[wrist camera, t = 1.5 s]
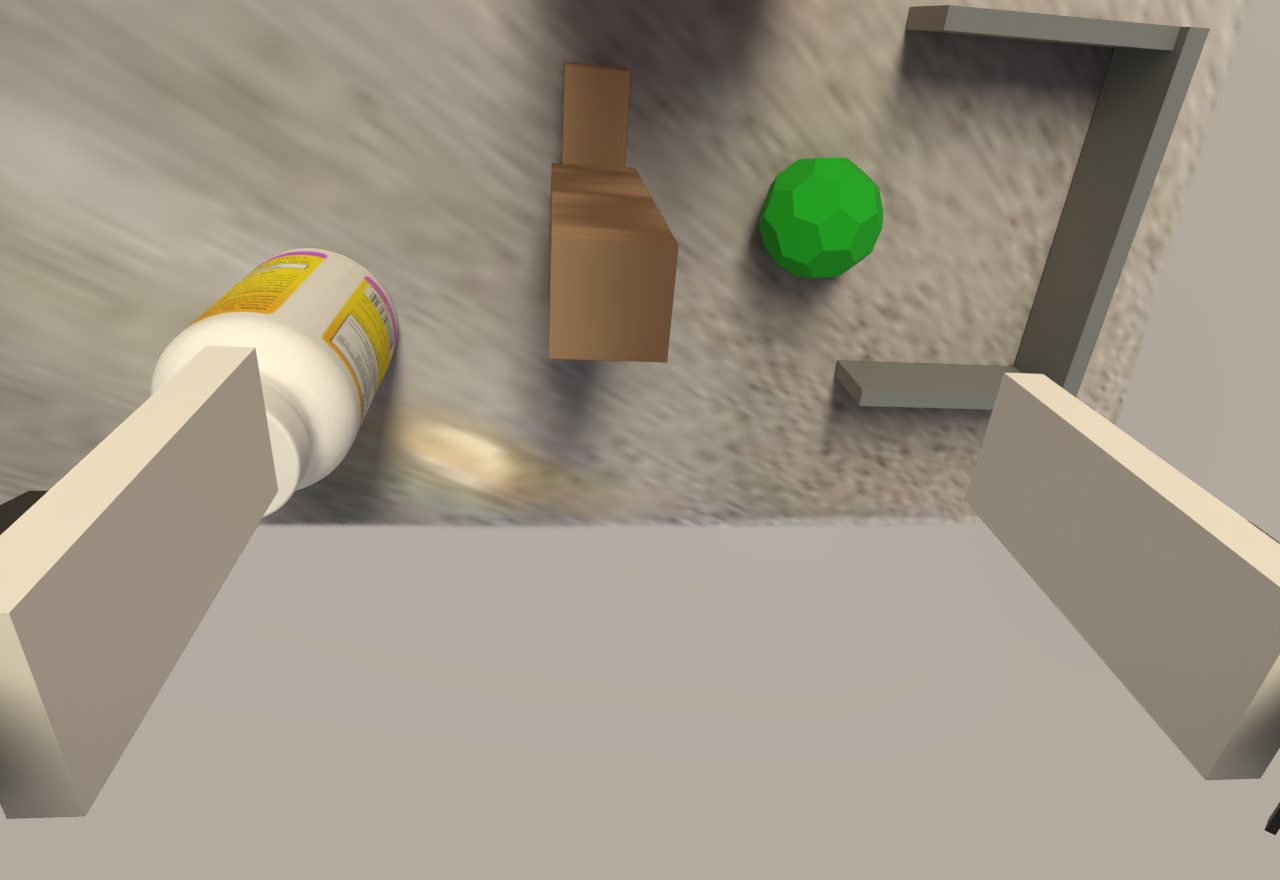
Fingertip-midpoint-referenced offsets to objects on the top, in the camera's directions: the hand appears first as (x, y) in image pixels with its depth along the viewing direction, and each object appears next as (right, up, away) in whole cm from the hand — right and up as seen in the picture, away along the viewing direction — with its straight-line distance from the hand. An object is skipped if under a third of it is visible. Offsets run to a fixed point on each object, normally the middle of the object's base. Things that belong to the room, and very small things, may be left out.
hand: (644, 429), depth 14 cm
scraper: (-2, +10, +20) cm, 22 cm away
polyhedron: (+7, +10, +21) cm, 24 cm away
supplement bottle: (-14, +5, +21) cm, 26 cm away
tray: (+15, +10, +22) cm, 28 cm away
